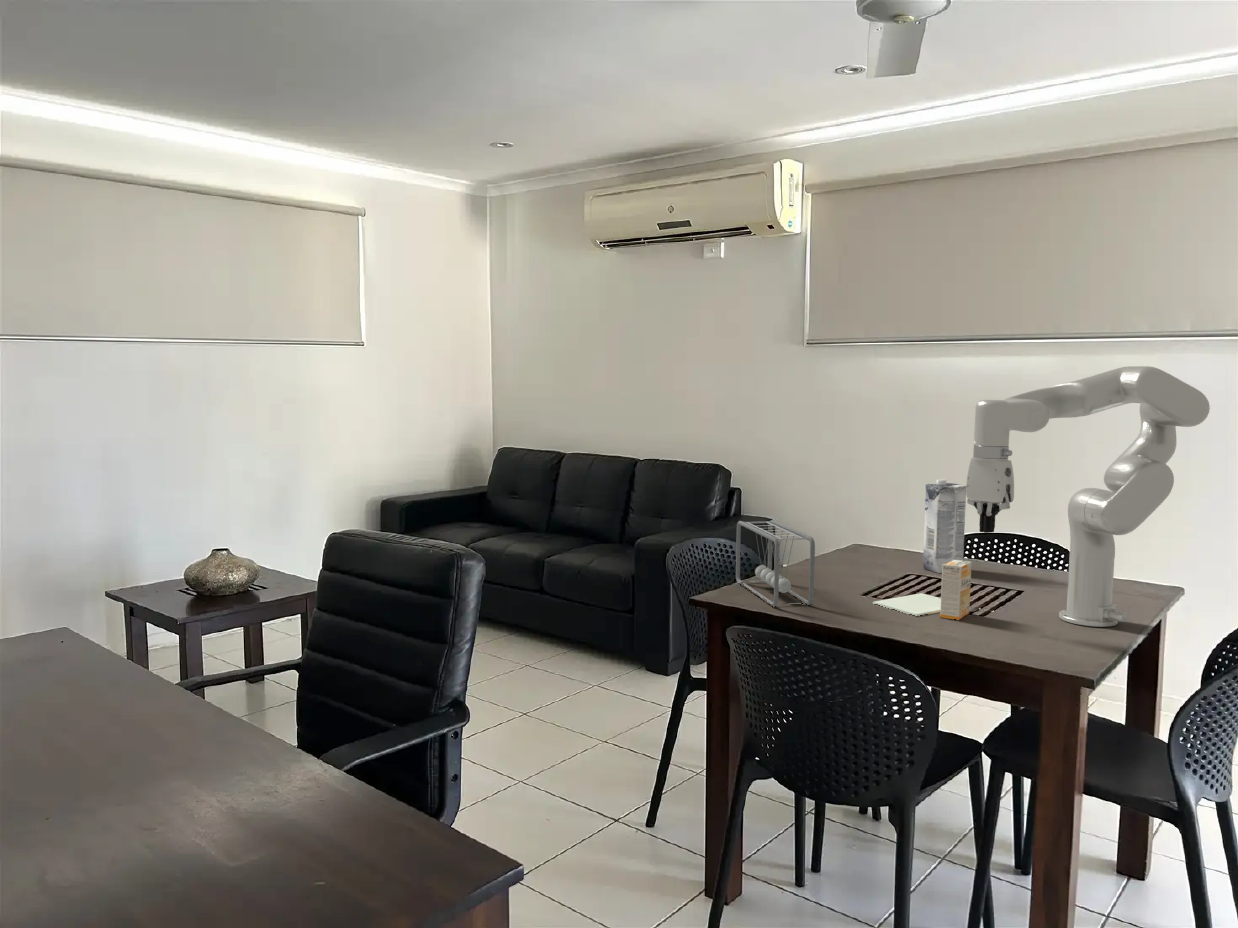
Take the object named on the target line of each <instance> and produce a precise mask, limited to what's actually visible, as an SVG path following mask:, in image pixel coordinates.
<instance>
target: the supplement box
mask: <svg viewBox="0 0 1238 928" xmlns="http://www.w3.org/2000/svg"><path fill="white" fill-rule="evenodd" d="M972 562H973V561H968V560H963V561H961V560H952V561H950V562H947V563H945V564H943V565H942V573H941V587H940V590H941V591H940V598H941V609H940V612H939V614H940V618H942V619H949V620H954V619H956V620H955V621H960V620H961V619H963V618H964V617H965V616H967V615H968V614H970V605H971V602H970V600H971V582H972Z"/></svg>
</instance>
